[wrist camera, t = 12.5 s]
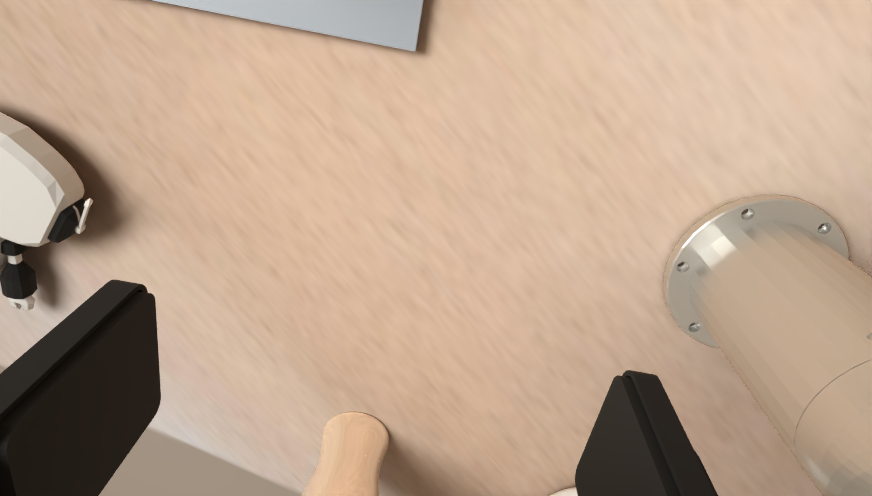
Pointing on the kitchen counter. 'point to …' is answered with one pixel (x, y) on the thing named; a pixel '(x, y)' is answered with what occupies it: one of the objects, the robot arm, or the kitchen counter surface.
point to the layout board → (330, 17)
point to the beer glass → (349, 457)
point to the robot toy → (33, 205)
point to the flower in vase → (566, 492)
